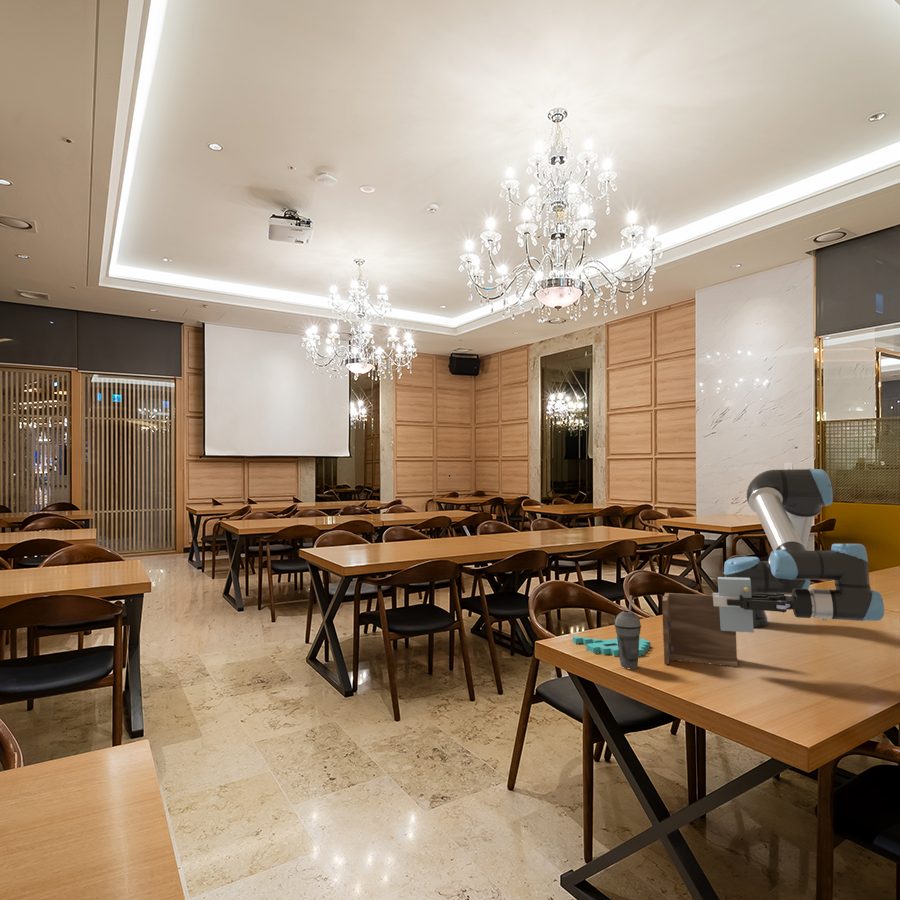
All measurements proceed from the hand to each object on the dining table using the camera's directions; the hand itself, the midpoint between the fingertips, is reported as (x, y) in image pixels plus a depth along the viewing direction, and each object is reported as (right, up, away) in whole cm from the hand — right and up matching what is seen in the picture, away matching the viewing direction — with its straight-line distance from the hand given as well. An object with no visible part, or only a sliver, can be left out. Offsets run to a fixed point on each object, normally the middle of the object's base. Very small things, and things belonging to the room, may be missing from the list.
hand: (713, 599), depth 163 cm
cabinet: (-1, -19, +6) cm, 20 cm away
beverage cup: (-23, -20, +2) cm, 30 cm away
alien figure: (-21, -21, +21) cm, 37 cm away
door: (+5, -8, -2) cm, 10 cm away
